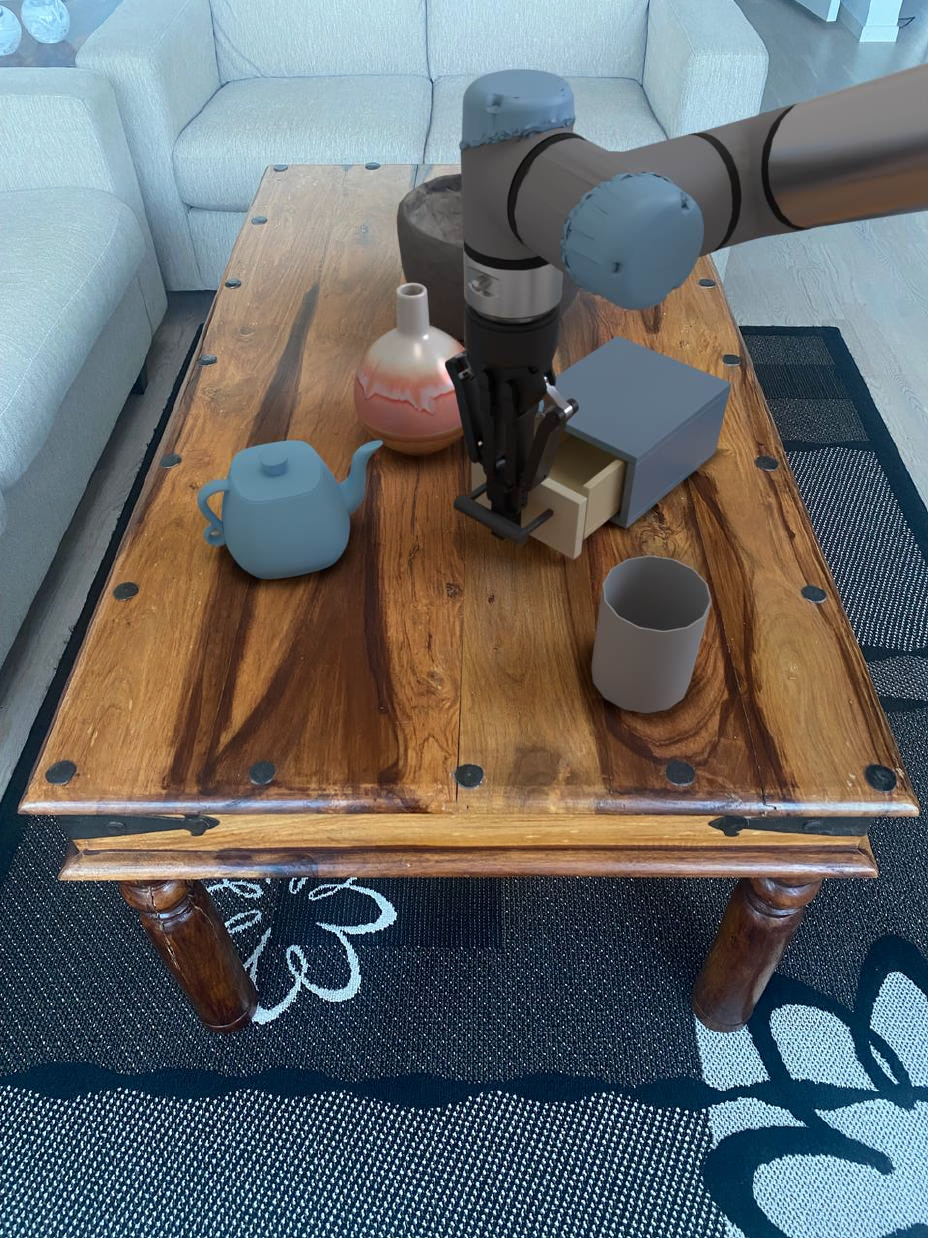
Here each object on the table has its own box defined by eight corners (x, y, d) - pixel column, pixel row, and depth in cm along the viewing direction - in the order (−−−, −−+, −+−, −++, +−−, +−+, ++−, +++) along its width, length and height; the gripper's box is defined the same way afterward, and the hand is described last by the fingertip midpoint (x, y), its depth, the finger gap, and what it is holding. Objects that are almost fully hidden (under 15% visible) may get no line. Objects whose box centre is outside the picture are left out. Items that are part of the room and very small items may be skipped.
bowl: (449, 263, 132) (446, 152, 121) (611, 296, 124) (624, 182, 113) (365, 345, 117) (353, 227, 106) (544, 388, 109) (551, 267, 98)
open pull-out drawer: (537, 590, 85) (541, 534, 80) (434, 528, 91) (432, 472, 86) (665, 483, 95) (676, 427, 90) (565, 433, 101) (570, 379, 96)
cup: (696, 713, 76) (719, 632, 69) (596, 713, 76) (608, 632, 69) (681, 637, 82) (700, 555, 75) (588, 637, 82) (599, 555, 75)
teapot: (397, 475, 81) (190, 514, 78) (404, 564, 89) (216, 602, 86) (367, 398, 89) (179, 430, 86) (376, 485, 97) (204, 517, 94)
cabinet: (625, 529, 92) (636, 458, 86) (516, 471, 99) (518, 400, 92) (715, 452, 100) (731, 382, 94) (609, 403, 107) (617, 335, 101)
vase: (342, 421, 105) (322, 273, 92) (451, 392, 109) (447, 247, 96) (384, 489, 97) (369, 337, 84) (501, 456, 100) (504, 305, 88)
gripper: (418, 292, 72) (430, 520, 90) (547, 349, 66) (533, 583, 83) (481, 258, 76) (481, 484, 93) (609, 310, 70) (583, 541, 87)
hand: (505, 530), depth 88 cm, fingers closed
